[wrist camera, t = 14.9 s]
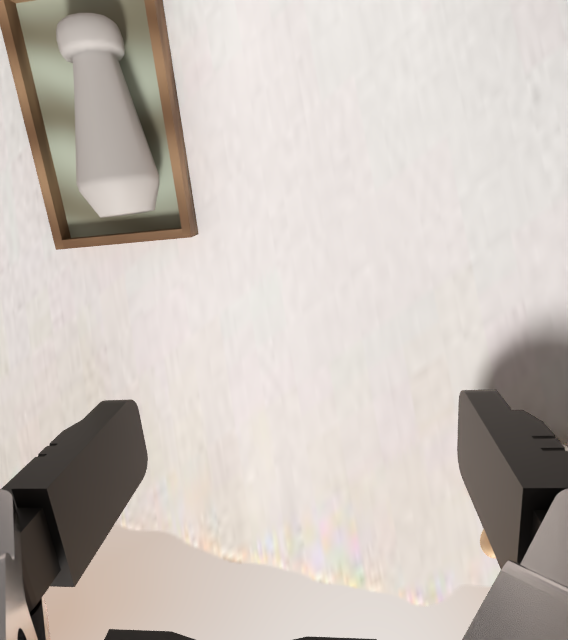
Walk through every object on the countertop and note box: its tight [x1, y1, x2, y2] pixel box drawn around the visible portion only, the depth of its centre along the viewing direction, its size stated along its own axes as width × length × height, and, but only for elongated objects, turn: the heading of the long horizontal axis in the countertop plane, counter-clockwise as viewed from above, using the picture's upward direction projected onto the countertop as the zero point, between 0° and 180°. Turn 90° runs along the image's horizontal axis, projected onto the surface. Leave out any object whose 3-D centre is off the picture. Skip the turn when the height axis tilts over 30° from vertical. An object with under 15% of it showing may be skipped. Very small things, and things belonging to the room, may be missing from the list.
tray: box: [0, 0, 198, 250], centre depth 35 cm, size 18×11×2 cm, turn 6°
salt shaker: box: [56, 13, 160, 218], centre depth 33 cm, size 6×6×13 cm
